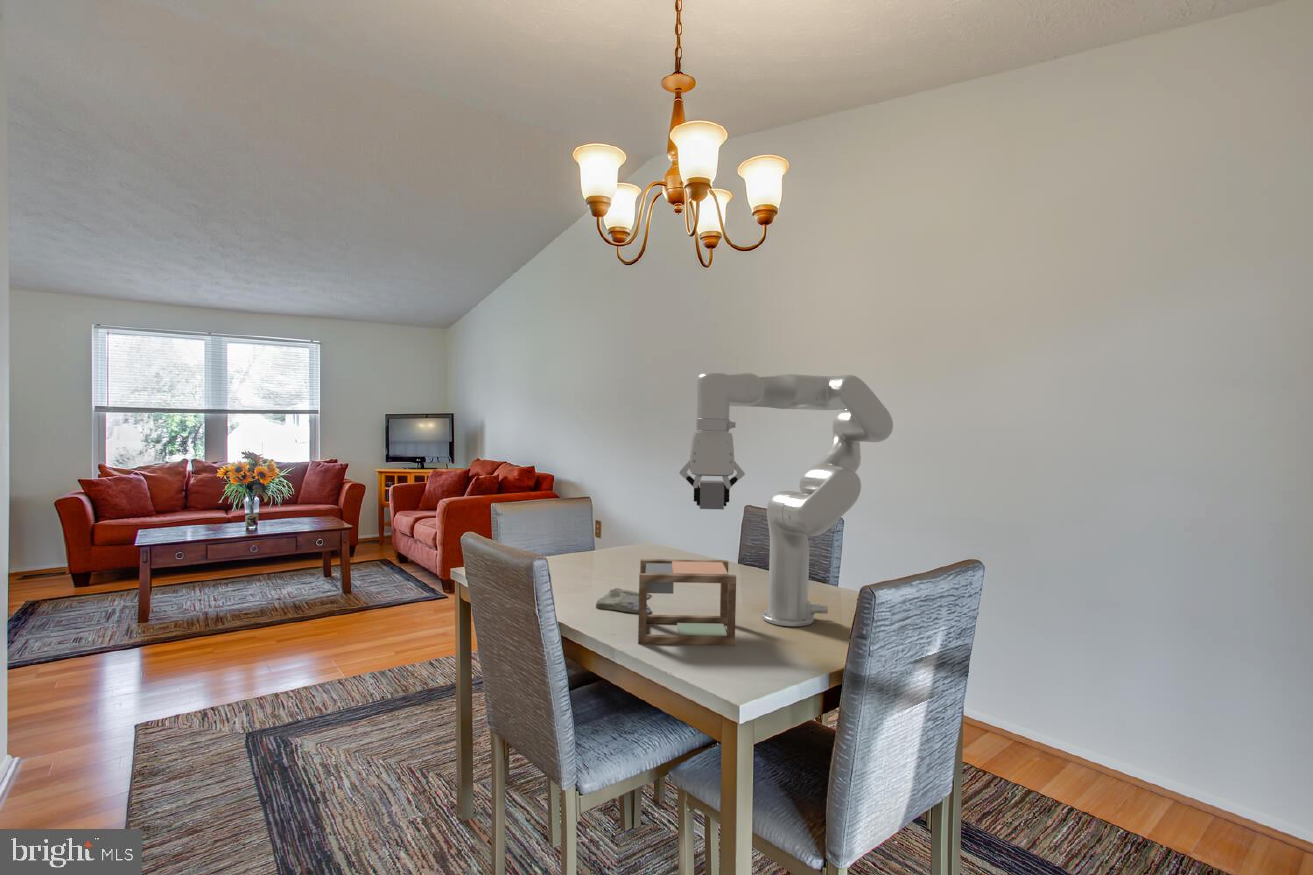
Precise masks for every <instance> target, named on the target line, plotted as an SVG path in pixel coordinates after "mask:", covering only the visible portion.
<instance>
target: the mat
mask: <svg viewBox="0 0 1313 875" xmlns="http://www.w3.org/2000/svg"><path fill="white" fill-rule="evenodd" d="M676 625H677V626H676V627H677V635H714V636H727V629H726V627H725V624H714V623H676Z"/></svg>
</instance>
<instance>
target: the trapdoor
mask: <svg viewBox="0 0 1313 875" xmlns="http://www.w3.org/2000/svg"><path fill="white" fill-rule="evenodd" d="M646 573H658V574H720V575H729V572H728V573H727V571H726V569H725V567H724V565H723V562H680V561H672V563H646ZM674 583H675V582H647V591H646V593H647V594H662V595H663V594H664V595H665V594H666V595H667V594H670V595H671V594H674Z"/></svg>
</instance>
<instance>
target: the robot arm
mask: <svg viewBox="0 0 1313 875" xmlns="http://www.w3.org/2000/svg"><path fill="white" fill-rule="evenodd" d="M696 382H697V384H696V425H695V426H696V428H695V429H696V431H695V432H693V433H692V437H691V442H690V453H689V460H688V461H687V463H685V465H684V466H683V467H682V468H681V469H680V470H679V475H680V476H681V477H683V478H684V479H685V480H686V481H687V482H688V484H690V485H691V487H693V502H695V503H696V507H699V505H700V488H699V487H700V480H702V477H721V478H722V481H723V482H724V507H727V503H730V489H731V488H732V487H733V486H734V485H735V484H736V483H737V482H738V481H739V480H741V478H742V477H744V476H745V475H746V474H745V471H744V470H743V469H742V468H741V467H740V466H739V464H738V463H737V462H736V461H735V448H734V436H733V433H731V432H730V430H731V429H735V428H736V425H737V424H736V422H735V421H731V420H730V407H750V408H751V407H753V408H755V407H756V408H771V409H777V410H778V409H779V410H780V409H781V410H814V411H839V410H840V411H839V412H838V413H837V414H836V415H835V417H834V418H833V422H832V443H831V444H832V445H831V446H830V448H829V450H828V451H826V453H825V454H824V455H823V456H822V457H820V459H818V461H816V462H815V463H814V464H813V465H812V466H811V467H809V469H807V470H806V471H805V473H803V475H802V476H801V478H800V481H799V485H798V486H799V491H800V492H799V491H794V490H793V491H792V490H782V491H778V492H777V493H775V494H773V495H772V496H771V497H770V499H769V501H768V502H767V507H766V520H767V526H768V530H769V533H768V534H769V562H768V563H769V567H768V569H769V570H768V571H769V573H768V605H767V606H768V607H767V608H766V609H764V610H763V611H762V612H761V618H762V619H763V620H764V621H765V622H767V623H770V624H773V625H777V626H783V627H805V626H809V625H811V624H813V623H814V621H815V616H814V615H815V614H821V615H823V614H824V615H825V614H828V610H829V608H828V606H827V605H820V603H811V602H810V601H809V578H810V577H809V576H810V575H809V571H810V569H809V566H810V546H809V545H810V543H809V539H808V536H809V537H816V536H820V535H822V534H824V533H825V532H827V531H828V530H829V529H831V528H832V527H833V526H834V525H835V524H836V523H837V522H838V521H839V520H840V519H841V518H842V517H843V516H844V515H845V514H846V513H847V512H848V511H849V510H851V508H852V507H853V506H854V505H855V504H856V503H857V501H858V499H859V497H860V493H861V491H862V490H861V488H862V483H861V479H860V476H859V475H858V473H857V471H858V470H859V467H860V465H861V460H862V458H861V444H860V443H861V442H866V443H868V442H869V443H879V442H883V441H885V440H887V439H889V437H890V435H891V434H892V432H893V430H894V421H893V418H892V415H891V414H890V412H889V411H888V408H886V406H885V405H884V404H883V403H882V401H881V400H880V399H879V398H878V397H877V395H876V394H875V392H874V391H873V390H872V389H871V388H870V387H869V385H867V384H866V382H865V381H863V379H861V378H860V377H858V376H856V375H853V374H847V375H832V376H831V375H830V376H829V375H808V374H807V375H805V374H792V373H790V374H779V375H768V376H758V375H757V374H754V373H751V372H749V373H747V372H744V373H735V374H726V373H723V372H704V373H700V374H699V375H698V377H697V381H696ZM689 470H690V473H691V475H693V476H694V478H693V477H692V476H691V475H690V474H689V473H688V471H689ZM735 471H736V474H734V472H735ZM733 474H734V475H733ZM730 476H732V477H731V478H730Z"/></svg>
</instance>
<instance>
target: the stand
mask: <svg viewBox="0 0 1313 875" xmlns="http://www.w3.org/2000/svg"><path fill="white" fill-rule="evenodd" d="M672 561H680V562H723V565H724V567H725V569H726V571H727V573H728V575H720V574H658V573H646V563H672ZM639 565H640V567H639V568H640V569H639V570H640V571H639V574H638V576H639V577H638V578H639V580H638V583H639V584H638V587H639V588H638V592H639V613H638V629H637V630H638V632H637V634H638V635H637V643H638V645H639V644H640V645H641V644H642V645H651V644H652V645H696V646H697V645H698V646H699V645H700V646H701V645H704V646H707V645H708V646H709V645H710V646H736V613H737V612H736V610H737V607H736V606H737V602H736V601H737V600H736V599H737V575H736V574H729V561H728V560H721V559H719V560H717V559H712V560H711V559H668V558H667V559H663V558H662V559H661V558H660V559H657V558H655V559H654V558H652V559H651V558H640V564H639ZM647 582H674V583H691V584H693V583H694V584H695V583H698V584H720V588H719V590H720V591H719V593H720V594H719V596H720V598H719V615H696V614H695V615H688V614H687V615H685V614H683V615H682V614H647V615H646V603H647V600H648V599H647V594H648V593H646V591H647ZM677 623H714V624H724V625H726V632H727V636H714V635H678V634H648V633H647V624H677Z"/></svg>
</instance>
